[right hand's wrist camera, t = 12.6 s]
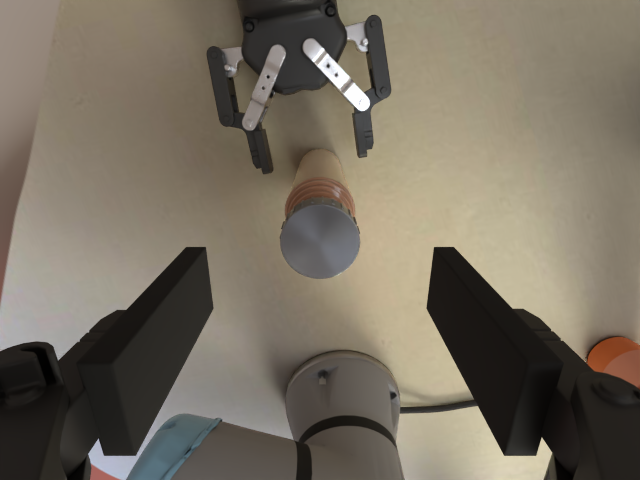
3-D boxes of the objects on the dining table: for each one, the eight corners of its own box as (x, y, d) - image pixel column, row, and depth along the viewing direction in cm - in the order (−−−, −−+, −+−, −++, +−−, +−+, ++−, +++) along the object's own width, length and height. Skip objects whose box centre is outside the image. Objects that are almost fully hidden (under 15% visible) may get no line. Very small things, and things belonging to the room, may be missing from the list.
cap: (366, 254, 19) (370, 266, 18) (297, 276, 20) (295, 289, 18) (345, 185, 18) (347, 192, 17) (270, 210, 19) (266, 218, 17)
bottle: (346, 183, 38) (374, 265, 18) (307, 196, 39) (293, 290, 19) (333, 142, 37) (349, 184, 17) (292, 156, 37) (262, 213, 17)
